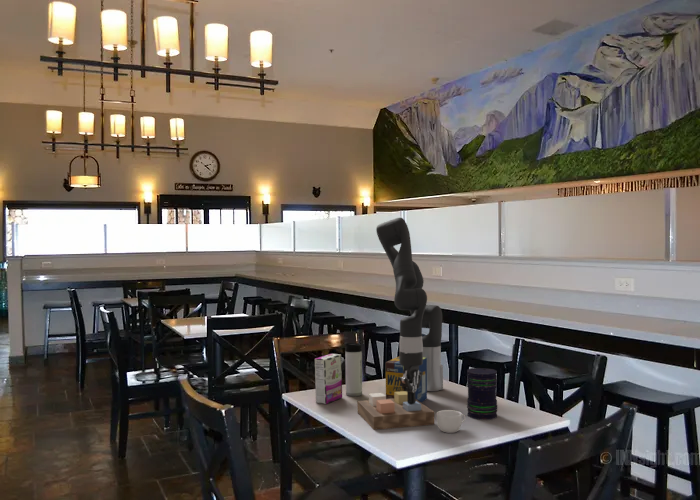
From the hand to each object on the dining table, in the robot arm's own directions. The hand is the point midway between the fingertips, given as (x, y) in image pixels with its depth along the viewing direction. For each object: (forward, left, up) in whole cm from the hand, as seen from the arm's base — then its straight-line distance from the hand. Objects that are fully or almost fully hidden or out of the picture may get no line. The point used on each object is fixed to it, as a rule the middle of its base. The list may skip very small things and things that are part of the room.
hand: (411, 403), depth 195 cm
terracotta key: (+9, 0, -3) cm, 9 cm away
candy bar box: (+20, -34, -6) cm, 40 cm away
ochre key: (0, -9, -3) cm, 9 cm away
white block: (+9, -9, -3) cm, 13 cm away
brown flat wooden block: (+4, -5, -6) cm, 8 cm away
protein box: (-7, -24, -6) cm, 25 cm away
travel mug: (+9, -40, -6) cm, 41 cm away
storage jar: (-25, 0, -6) cm, 25 cm away
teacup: (-9, +12, -6) cm, 16 cm away
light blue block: (0, 0, -4) cm, 4 cm away
